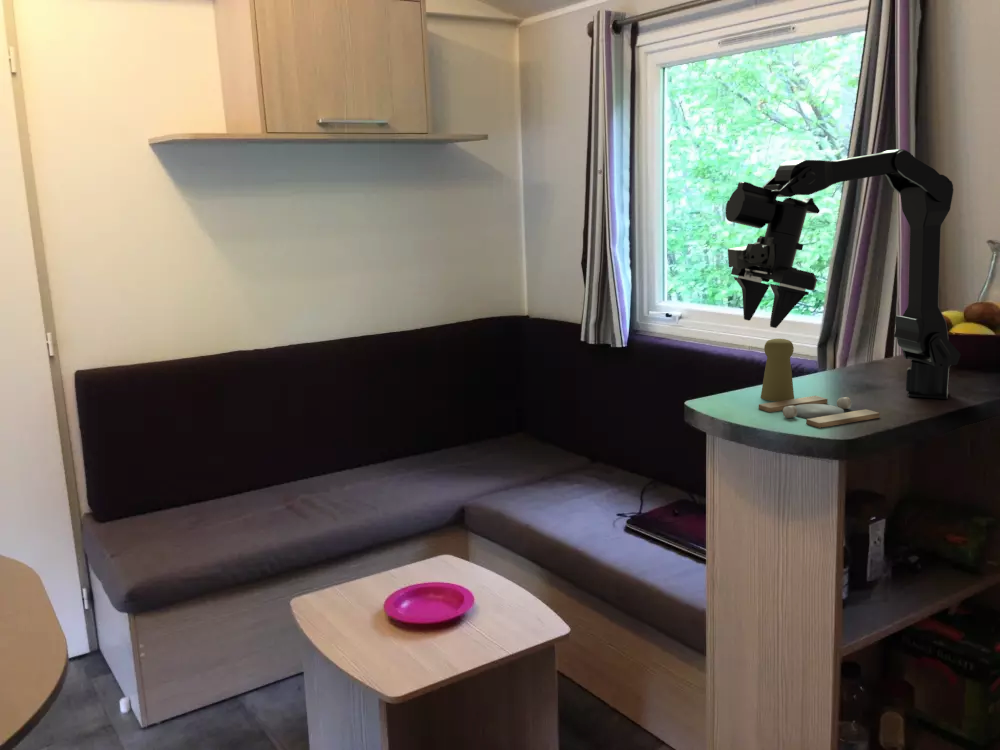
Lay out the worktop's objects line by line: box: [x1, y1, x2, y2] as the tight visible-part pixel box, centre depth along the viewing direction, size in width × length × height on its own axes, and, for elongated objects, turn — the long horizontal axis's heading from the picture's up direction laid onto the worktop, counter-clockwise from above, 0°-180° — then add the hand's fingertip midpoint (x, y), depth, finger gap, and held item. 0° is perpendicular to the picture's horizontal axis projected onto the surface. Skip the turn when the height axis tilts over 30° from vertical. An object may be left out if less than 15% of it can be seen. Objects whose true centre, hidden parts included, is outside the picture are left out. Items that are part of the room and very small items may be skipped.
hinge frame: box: [758, 395, 880, 429], centre depth 156 cm, size 13×15×2 cm
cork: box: [760, 338, 795, 402], centre depth 167 cm, size 6×6×11 cm
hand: (759, 323), depth 156 cm, fingers open, 9 cm apart
